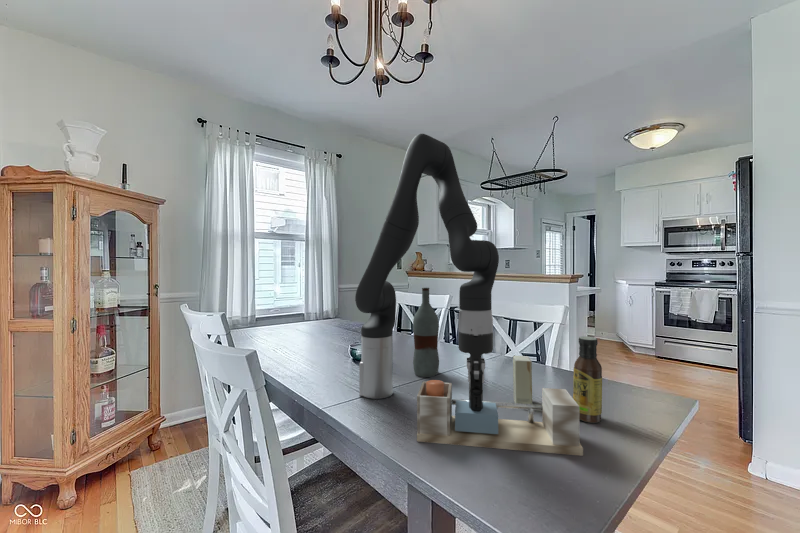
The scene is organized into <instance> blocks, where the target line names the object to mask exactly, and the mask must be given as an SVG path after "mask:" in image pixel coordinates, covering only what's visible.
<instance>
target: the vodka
mask: <svg viewBox="0 0 800 533" xmlns="http://www.w3.org/2000/svg"><path fill="white" fill-rule="evenodd" d="M413 316H414V317H413V320H412V321H413V322H412V331H413V345H414V351H413V357H412V358H413V359H412V364H413V367H412V368H413V371H414V374H415V376H418V377H421V378H432V376H433V377H436V376H437V375H438V374H439V368H440V366H439V365H440V358H439V356H440V355H439V351H438V350H439V349H438V344H439V343H438V341H439V331H440V330H439V329H440V326H439V325H440V323H439V318H438V314H437V313H436V312H435V310H434V307H433V306H432V305H431V302H430V287H422V288H421V304H420V305H419V307H418V309H417V310H416V313H415V314H414V315H413ZM435 375H436V376H435Z"/></svg>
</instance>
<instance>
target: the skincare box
mask: <svg viewBox="0 0 800 533" xmlns="http://www.w3.org/2000/svg"><path fill="white" fill-rule="evenodd" d="M532 364H533V362H532V359H531V358H530V357H529V356H527V355H526V356H525V355H512V382H513V384H512V386H513V391H512V392H513V397H512V398H513V401H514V402H513V403H520V404H533V366H532Z"/></svg>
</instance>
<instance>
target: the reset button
mask: <svg viewBox="0 0 800 533" xmlns="http://www.w3.org/2000/svg"><path fill="white" fill-rule="evenodd" d="M425 382H426V395H427V396H438V397H444V383H445V381H443V380H439V379H430V380H427V381H425Z"/></svg>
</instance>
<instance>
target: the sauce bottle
mask: <svg viewBox="0 0 800 533" xmlns="http://www.w3.org/2000/svg"><path fill="white" fill-rule="evenodd" d="M578 344H579V347H578V349H579V353H578V357H577V359H576V360H575V362H574V364H573V369H572V370H573V371H572V372H573V377H572V378H573V379H572V380H573V382H572V383H573V384H572V385H573V386H572V387H573V388H572V389H573V391H572V392H573V393H572V398H573V399H574V400H575V402H576V403H577V404H578V405H579V421H583V422H585V423H590V424H597V423H599V422H601V421H602V413H603V412H602V409H603V407H602V406H603V405H602V404H603V400H602V399H603V370H602V369H603V368H602V365H601V362H600V361H599V360H598V358H597V356H598V354H597V346H598V338H596V337H593V336H585V335H583V336H579V337H578Z"/></svg>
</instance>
